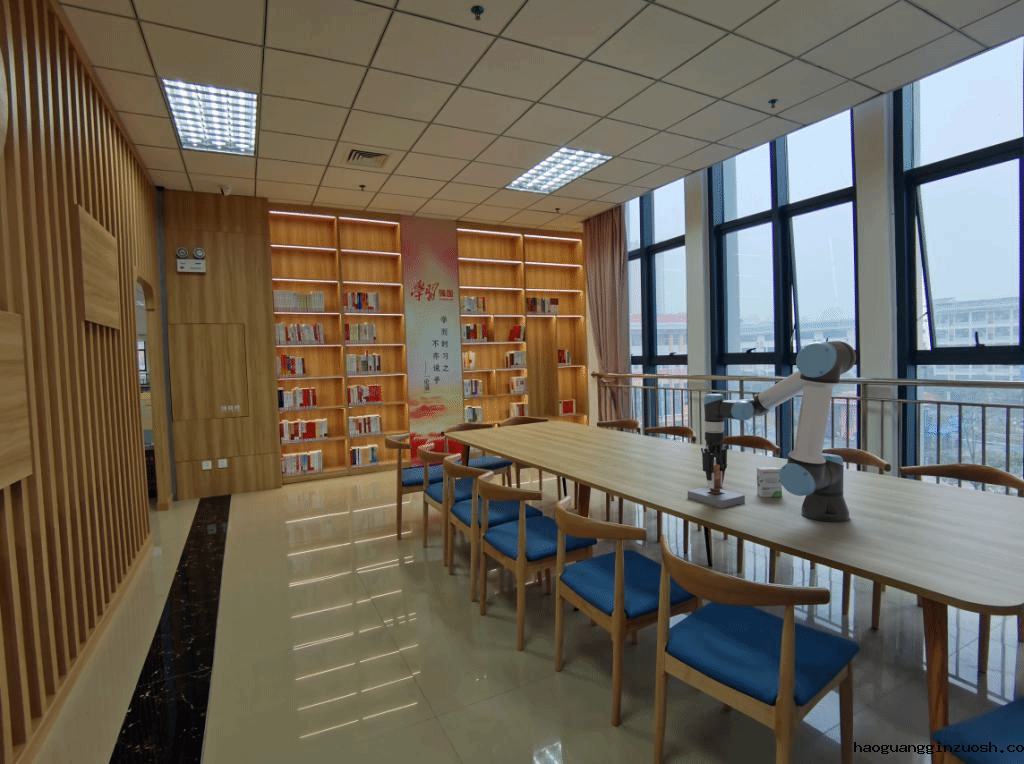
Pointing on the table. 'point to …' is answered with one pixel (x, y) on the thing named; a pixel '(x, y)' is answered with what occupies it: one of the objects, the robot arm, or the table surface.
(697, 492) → the board
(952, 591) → the table surface
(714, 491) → the peg
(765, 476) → the ink box
